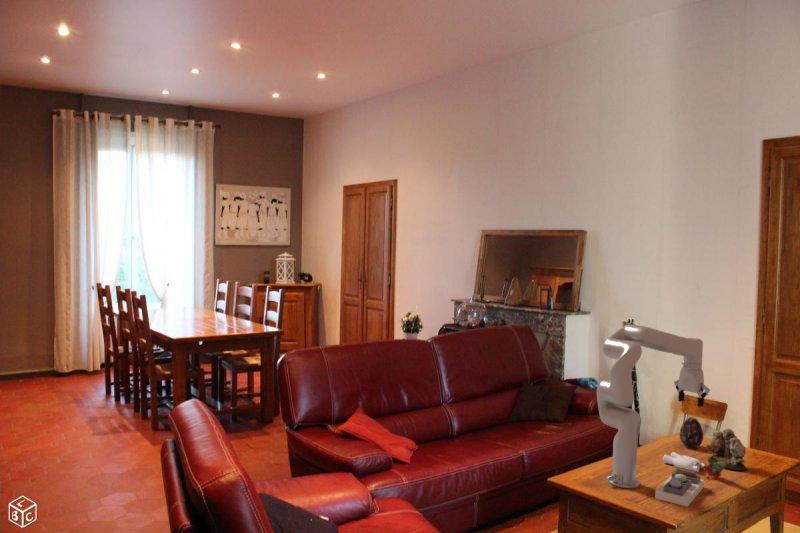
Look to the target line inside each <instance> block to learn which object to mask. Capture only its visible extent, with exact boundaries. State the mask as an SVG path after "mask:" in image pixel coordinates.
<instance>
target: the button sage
mask: <svg viewBox="0 0 800 533" xmlns="http://www.w3.org/2000/svg"><path fill="white" fill-rule="evenodd" d="M675 479H676V480H679V481H681V482H686V476H685V475H683V474H676V475H675Z"/></svg>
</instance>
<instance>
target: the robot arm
mask: <svg viewBox="0 0 800 533" xmlns="http://www.w3.org/2000/svg"><path fill="white" fill-rule="evenodd" d="M703 346H704V343H703V340H702V339H701V338H697V337H696V338H694V337H685V336H684V337H683V336H681V335H680V336H679V335H676V334H673V333H670V332H665V331H663V330H659V329H655V328H652V327H649V326H645V325H637V324H632V323H631V324H625V325H623V326H622V327H621V328H619V329H617V330H616V331H615V332H613V333H612V334H611V335H610V336H609V337H608V338H606V340H605V341H604V343H603V345H602V352H603V354H604V356H606V357H608V358H609V359H615V360H616V361H615V362H614V364H613V365H612V366H611V367H610V371H609V378H610V379H603V380H602V381H600V382H599V383H598V385H597V389H596V401H597V408H598V413H599V417H600V420H601V423H603V424H604V425H606V426H608V427H611V428H615V429H617V430H618V431H617V432H616V434H615V435H614V438H613V443H612V446H613V447H612V467H611V468H612V471H611V472H610V474H609V475H608V476H605V477H604V480H605V481H606V482H608V483H609V484H611V485H613V486H615V487H619V488H623V489H636V488H639V487H640V485H641V482H640V480H639V479H637V470H638V469H637V467H638V466H637V465H638V443H639V442H638V441H639V440H638V439H639V432H640V428H641V424H642V417H641V415H640V414H639V412H638V411H637V410H634V409H633V408H629V407H631V406H632V405H633V404H634V401H635V393H634V385H633V380H632V379H633V377H632V374H633V369H634V367H635V365H636V364H637V363H638V361H639V360H640V359H641V356H642V353H643V349H642V347H643V348H647V349H650V350H655V351H658V352H663V353H669V354H673V355H675V356H676V355H677V356H682V357H683V360H682V361H681V365H682V367H681V369H680V372H679V375H678V376H679V378H678V379H677V380H675V381H673V382H674V383H673V384H674V386H675V389H676V390H677V393H678V396H677V397H678V400H677V401H678V402H684V401H685V395H686V394H685V391H686V392H690V393H693V394H694V393H695V394H697V396H698V397H697V407H698V408H701V407H704V404H705V398H706V397H707V396H708V395H709V393H710V391H711V389H710V388H709V387H707V386H706V385H705V376H704V371H703V369H702V368H703V348H704V347H703Z"/></svg>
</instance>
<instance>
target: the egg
mask: <svg viewBox="0 0 800 533" xmlns="http://www.w3.org/2000/svg"><path fill="white" fill-rule="evenodd" d="M679 439H680V442H681V443H682V444H683V446H684V448H687V449H695V450H696V449H698V448H699V446H701V444H702V443H703V442H704V430H703V427H702V426H701V424H700V422H699V421H698V419H697V418H696V417H693V416H691V417H688V418H687V419H685V421H683V423H682V425H681V427H680V430H679Z"/></svg>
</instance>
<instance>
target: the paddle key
mask: <svg viewBox="0 0 800 533" xmlns="http://www.w3.org/2000/svg"><path fill="white" fill-rule="evenodd" d="M675 470H676V474H683V475H685V476H688V477H693V478H695V476H696V475H697V471H694V470H689V469H685V468H680V467H678V468H677V467H676V469H675Z"/></svg>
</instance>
